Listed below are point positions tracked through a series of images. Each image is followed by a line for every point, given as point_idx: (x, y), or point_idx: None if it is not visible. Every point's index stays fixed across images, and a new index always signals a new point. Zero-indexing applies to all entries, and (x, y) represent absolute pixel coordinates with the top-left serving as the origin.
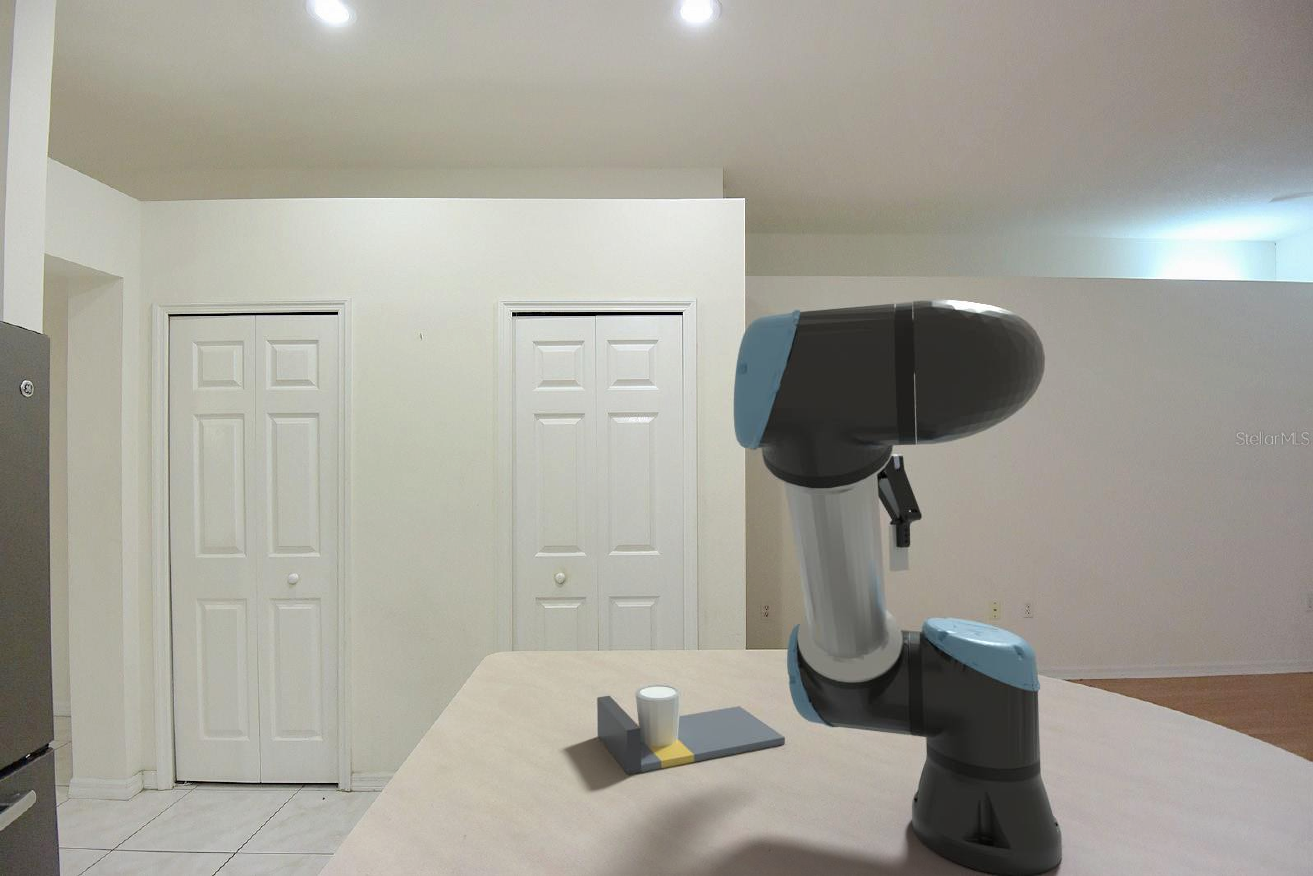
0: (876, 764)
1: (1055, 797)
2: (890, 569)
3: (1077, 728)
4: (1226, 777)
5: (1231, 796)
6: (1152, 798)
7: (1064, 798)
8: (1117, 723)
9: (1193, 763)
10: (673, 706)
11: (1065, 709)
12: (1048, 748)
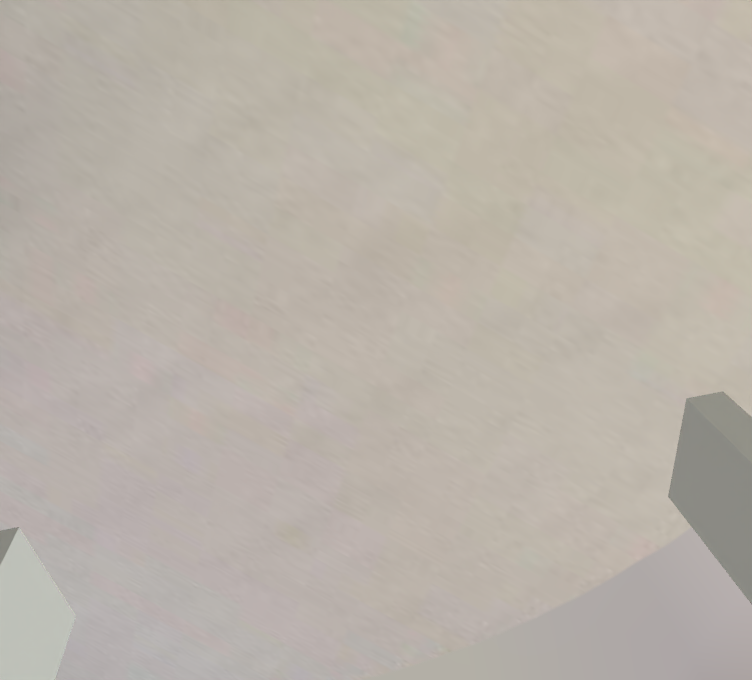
0: (195, 116)
1: (10, 379)
2: (8, 536)
3: (286, 562)
4: (79, 623)
5: None
6: (7, 507)
7: (6, 390)
8: (290, 617)
9: (129, 617)
10: None
11: (366, 588)
12: (216, 481)
